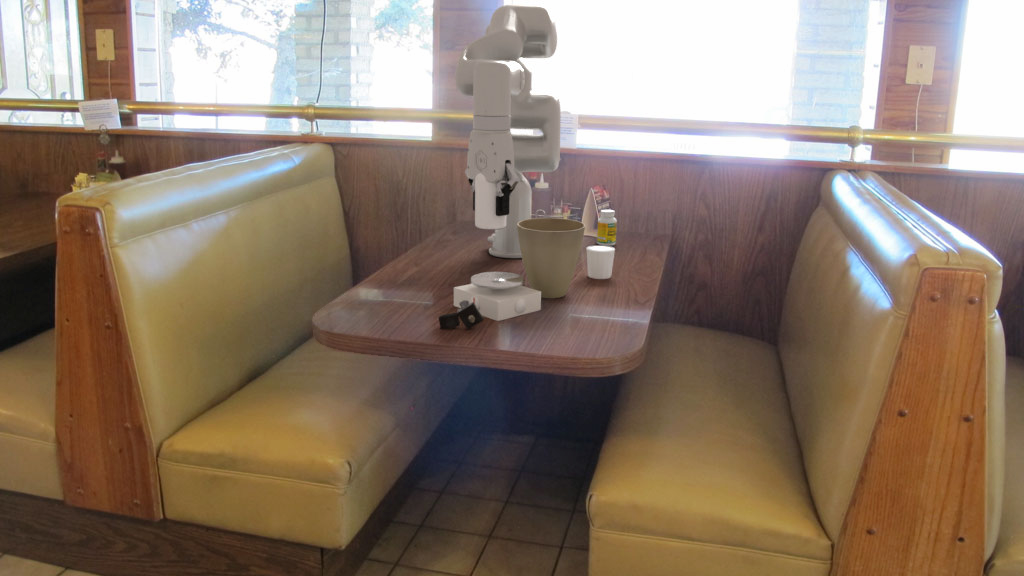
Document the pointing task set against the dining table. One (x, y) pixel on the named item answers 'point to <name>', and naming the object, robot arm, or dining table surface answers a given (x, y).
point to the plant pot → (550, 253)
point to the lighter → (461, 316)
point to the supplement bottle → (607, 228)
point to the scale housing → (499, 300)
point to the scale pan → (497, 280)
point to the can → (487, 205)
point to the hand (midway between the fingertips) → (491, 211)
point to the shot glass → (600, 261)
